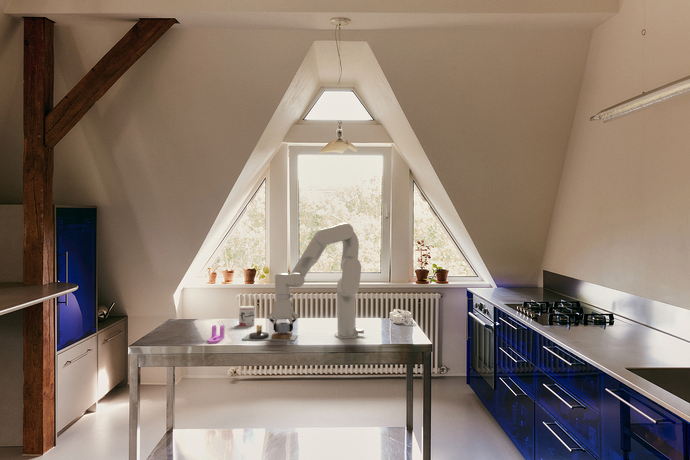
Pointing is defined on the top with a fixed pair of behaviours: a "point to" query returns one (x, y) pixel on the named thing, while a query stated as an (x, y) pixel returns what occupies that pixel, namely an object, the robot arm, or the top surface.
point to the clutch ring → (283, 327)
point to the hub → (259, 334)
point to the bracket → (215, 337)
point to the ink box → (246, 316)
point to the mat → (271, 339)
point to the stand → (281, 335)
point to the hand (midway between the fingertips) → (283, 331)
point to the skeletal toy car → (400, 316)
